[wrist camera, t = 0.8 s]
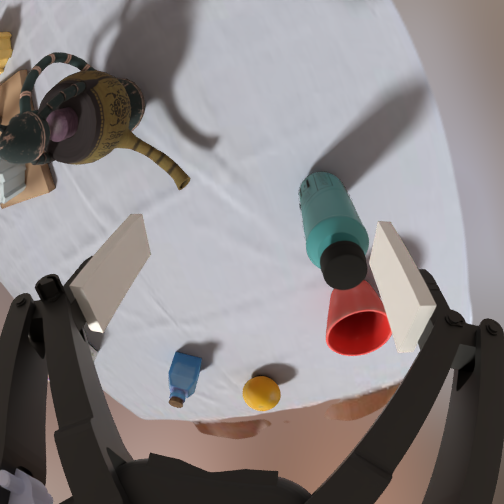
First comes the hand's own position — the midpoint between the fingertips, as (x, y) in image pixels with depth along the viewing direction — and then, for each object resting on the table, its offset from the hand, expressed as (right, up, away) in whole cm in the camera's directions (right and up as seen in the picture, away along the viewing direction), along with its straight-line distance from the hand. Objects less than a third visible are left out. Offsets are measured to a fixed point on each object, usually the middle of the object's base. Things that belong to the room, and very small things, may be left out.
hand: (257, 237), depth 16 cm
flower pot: (+17, -8, +34) cm, 39 cm away
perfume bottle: (-15, -27, +50) cm, 59 cm away
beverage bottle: (+9, +8, +25) cm, 28 cm away
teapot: (-17, +18, +21) cm, 33 cm away
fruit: (+2, -31, +51) cm, 60 cm away
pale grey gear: (-46, +15, +25) cm, 54 cm away
